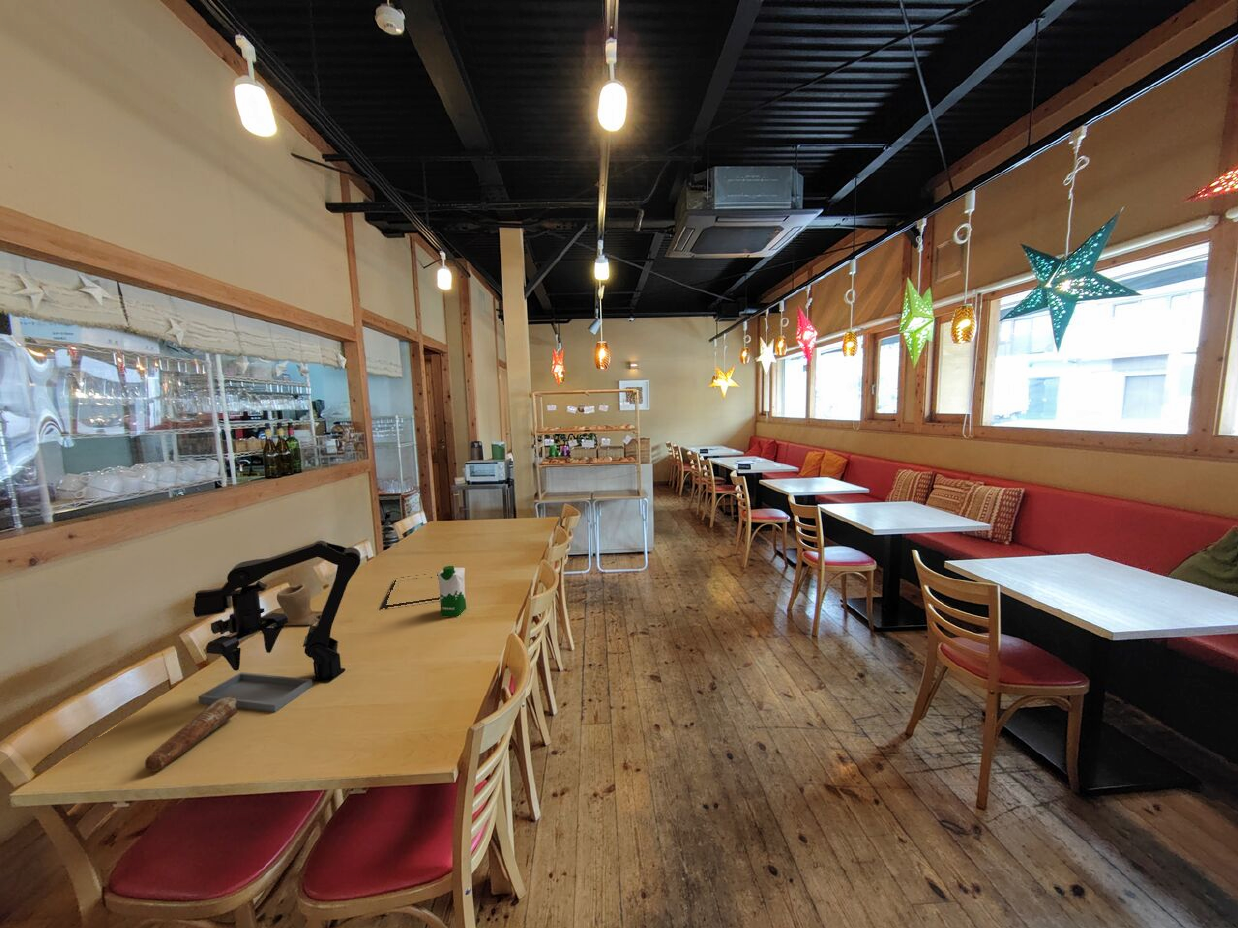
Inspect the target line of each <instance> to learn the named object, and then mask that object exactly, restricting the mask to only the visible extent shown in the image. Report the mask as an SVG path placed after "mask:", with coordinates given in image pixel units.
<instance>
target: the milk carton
mask: <svg viewBox="0 0 1238 928" xmlns="http://www.w3.org/2000/svg"><path fill="white" fill-rule="evenodd" d="M465 569H466V568H465V567H455V566H454V565H446V566H445V567H444V566H443V568H442V570H441V571H440V572H437V573H438V574H437V576H438V580H439V589H440V601H439V602H440V614H441V615H440V616H441V617H442V616H459V615H460V616H462V614H463V613H464V612H465V611H466V610H467V604H466V603H467V602H466V588H465V587H466V586H465V572H466V571H465ZM465 609H466V610H465ZM464 610H465V611H464ZM463 611H464V612H463ZM462 612H463V613H462ZM461 613H462V614H461ZM460 616H459V617H460Z"/></svg>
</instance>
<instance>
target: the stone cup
mask: <svg viewBox="0 0 1238 928" xmlns="http://www.w3.org/2000/svg"><path fill="white" fill-rule="evenodd" d="M311 599H312V598H311V591H310V588H309V586H308V585H306V584H304V583H300V584H293V585H290V586H287V587H285V588H283V589H282V590H280V591H279V592H278V593H277V594H276V600H277V601H276V602H277V603H278V605H279V607H280V608H281V609H282V610H283V612H284V614H286V615H287V617H288V623H286V624H284V626H310V625H316V624H317V623H318V621H319V619H320V617H321V614H322V611H323V610H322V611H320V610H315V611H314V610H312V609H311ZM316 622H317V623H316Z"/></svg>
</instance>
